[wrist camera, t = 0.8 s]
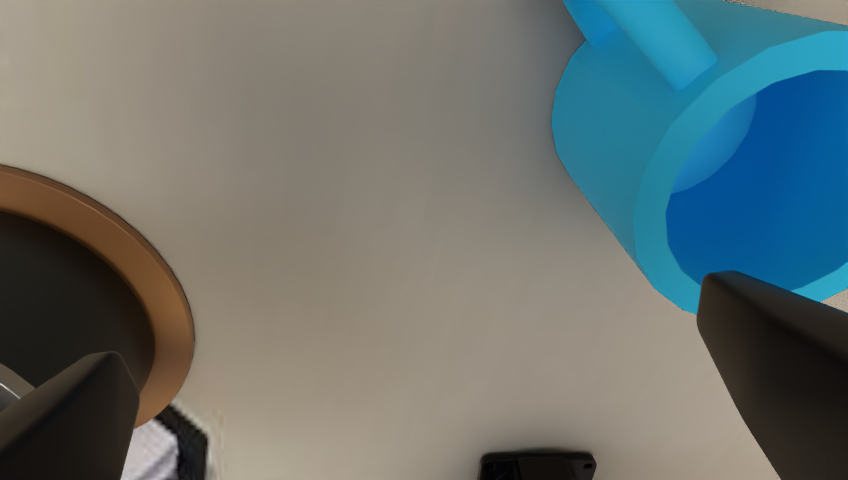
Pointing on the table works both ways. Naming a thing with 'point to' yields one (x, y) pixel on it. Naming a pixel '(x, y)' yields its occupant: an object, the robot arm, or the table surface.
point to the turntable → (128, 260)
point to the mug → (711, 140)
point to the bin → (61, 309)
